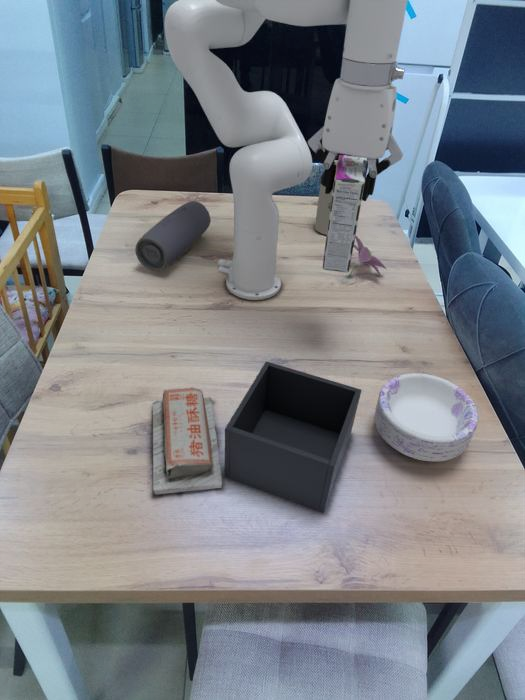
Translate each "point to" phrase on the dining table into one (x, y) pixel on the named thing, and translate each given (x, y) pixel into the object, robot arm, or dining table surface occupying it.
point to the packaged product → (184, 443)
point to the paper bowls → (425, 417)
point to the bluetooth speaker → (172, 236)
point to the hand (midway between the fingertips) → (347, 193)
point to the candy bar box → (344, 212)
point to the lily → (366, 257)
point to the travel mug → (323, 207)
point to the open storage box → (291, 434)
